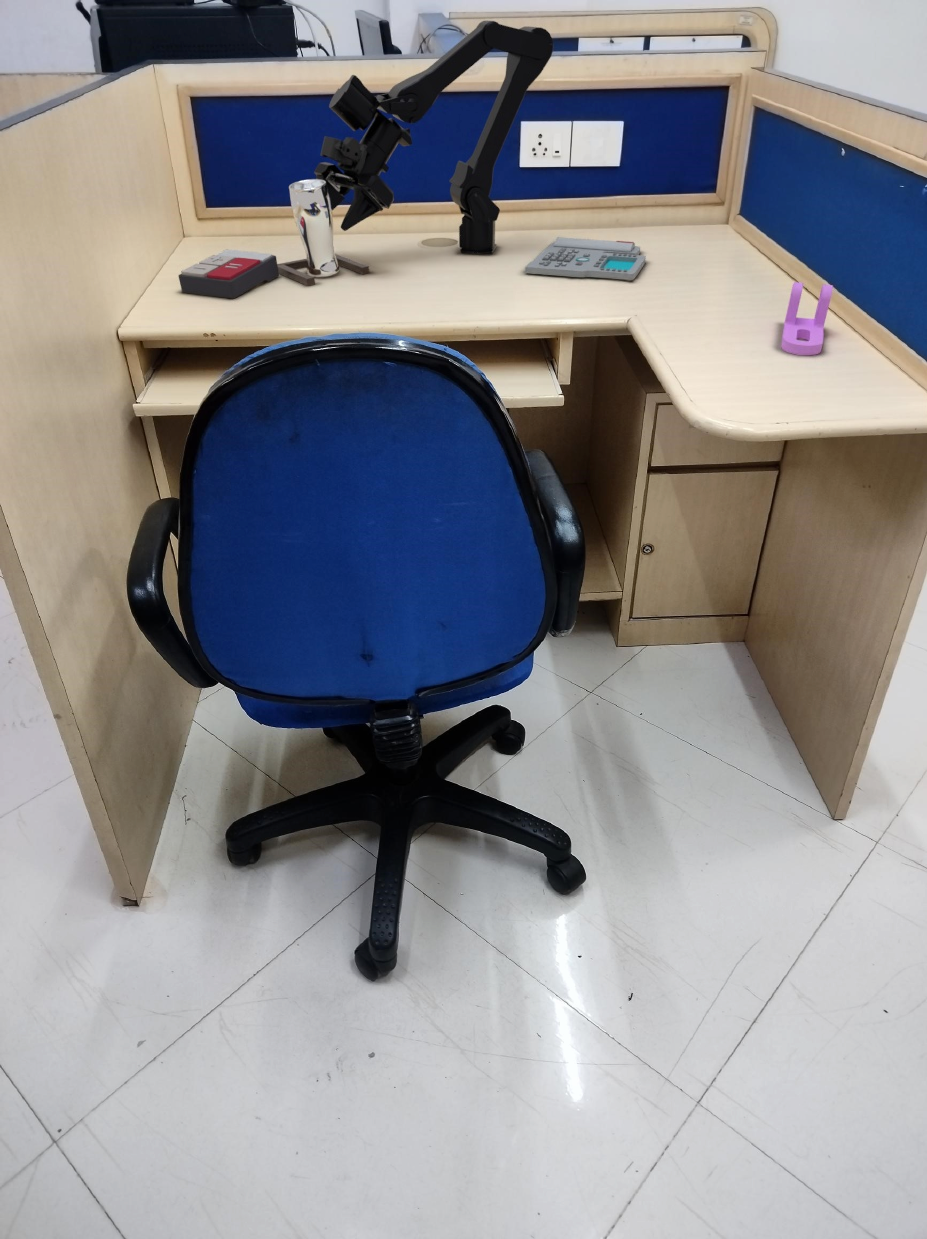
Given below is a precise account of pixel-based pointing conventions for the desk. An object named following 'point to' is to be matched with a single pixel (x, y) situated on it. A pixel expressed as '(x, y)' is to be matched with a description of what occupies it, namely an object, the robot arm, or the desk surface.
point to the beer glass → (315, 225)
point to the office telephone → (589, 259)
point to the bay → (290, 272)
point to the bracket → (805, 323)
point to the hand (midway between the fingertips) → (329, 224)
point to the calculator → (229, 273)
